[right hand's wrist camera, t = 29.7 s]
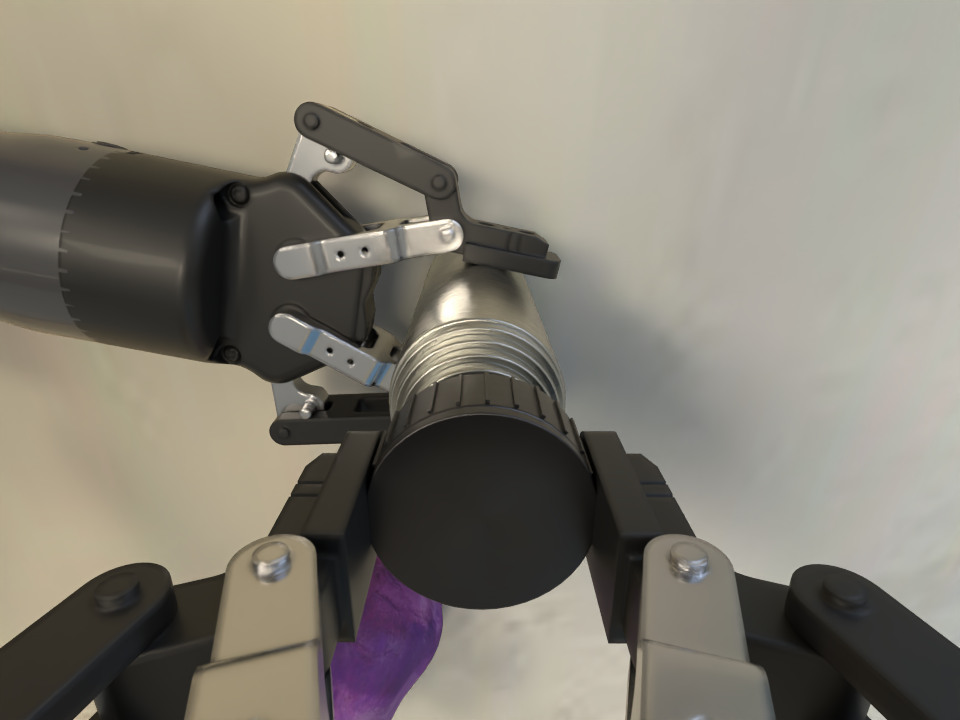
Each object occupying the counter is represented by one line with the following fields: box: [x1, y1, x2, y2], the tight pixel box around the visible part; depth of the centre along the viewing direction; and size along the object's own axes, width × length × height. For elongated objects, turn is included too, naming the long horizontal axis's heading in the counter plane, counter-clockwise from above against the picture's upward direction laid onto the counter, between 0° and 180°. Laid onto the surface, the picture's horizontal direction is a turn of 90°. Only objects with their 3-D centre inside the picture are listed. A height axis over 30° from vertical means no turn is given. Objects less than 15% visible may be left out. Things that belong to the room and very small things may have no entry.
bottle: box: [389, 252, 565, 422], centre depth 20 cm, size 5×5×18 cm
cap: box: [367, 372, 596, 610], centre depth 11 cm, size 4×4×2 cm
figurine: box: [331, 556, 443, 720], centre depth 29 cm, size 9×10×15 cm
